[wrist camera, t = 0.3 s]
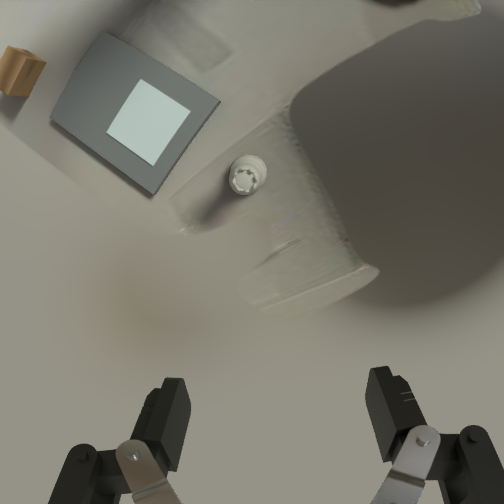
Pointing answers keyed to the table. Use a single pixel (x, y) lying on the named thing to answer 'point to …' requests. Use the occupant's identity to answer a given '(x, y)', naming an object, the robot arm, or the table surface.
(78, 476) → the robot arm
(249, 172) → the rook chess piece
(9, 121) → the table surface
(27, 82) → the walnut block
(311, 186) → the table surface
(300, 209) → the table surface
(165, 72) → the board
